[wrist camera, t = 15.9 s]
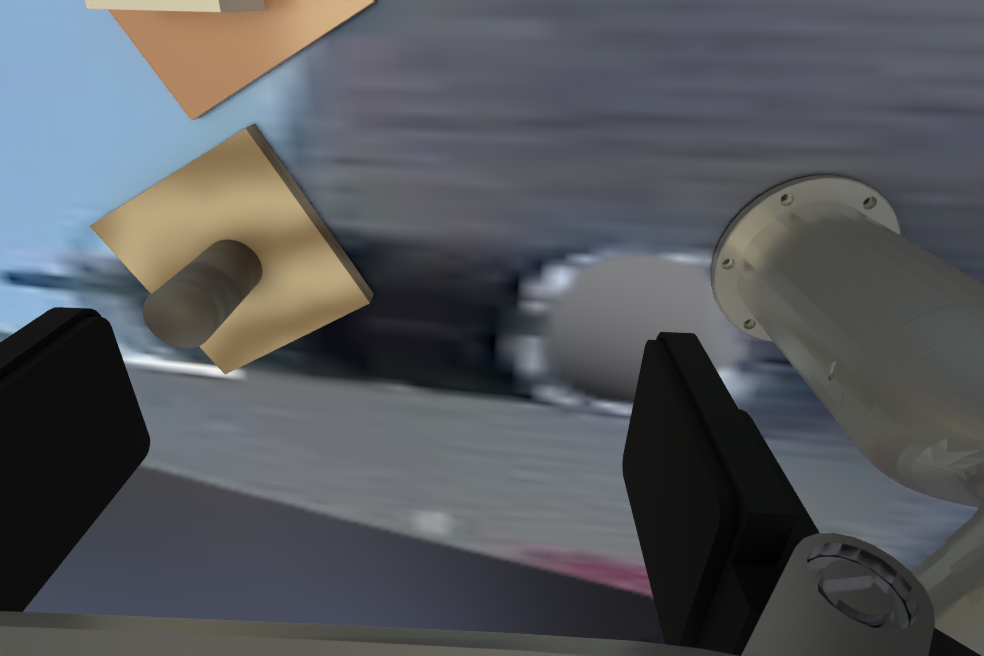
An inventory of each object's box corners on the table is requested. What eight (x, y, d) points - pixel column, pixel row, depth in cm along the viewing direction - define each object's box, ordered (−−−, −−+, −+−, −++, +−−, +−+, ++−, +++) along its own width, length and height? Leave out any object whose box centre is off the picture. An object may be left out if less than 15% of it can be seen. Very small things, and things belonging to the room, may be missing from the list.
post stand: (373, 293, 43) (342, 362, 35) (232, 364, 47) (174, 441, 38) (254, 123, 37) (182, 158, 29) (102, 219, 41) (-1, 273, 32)
